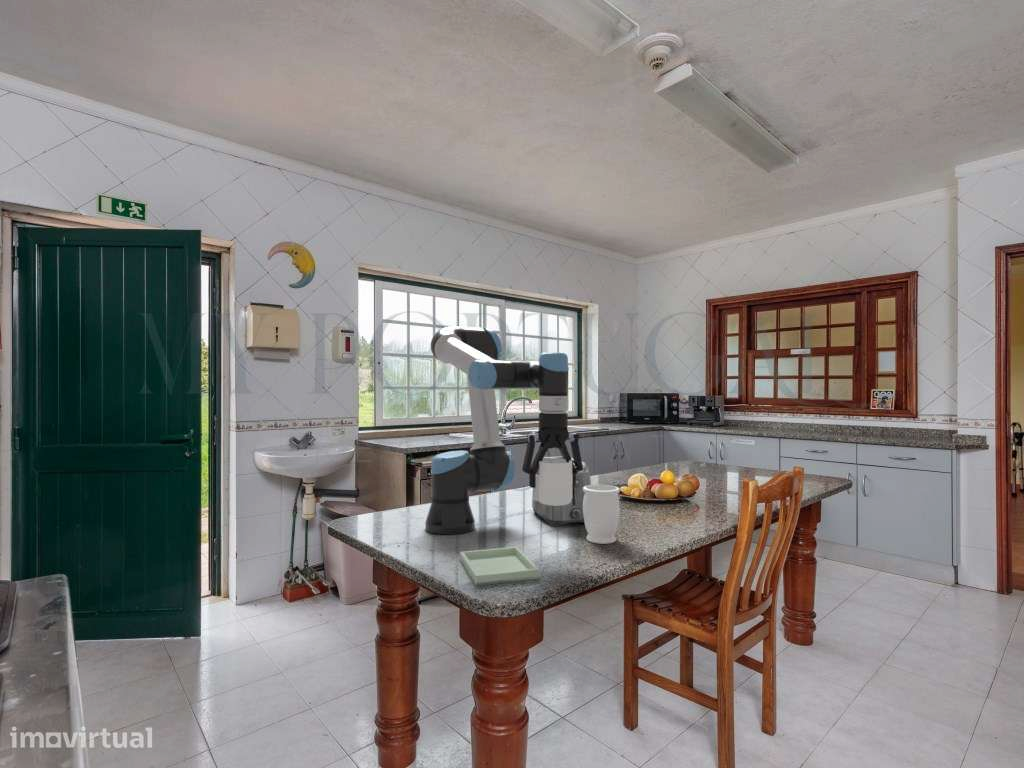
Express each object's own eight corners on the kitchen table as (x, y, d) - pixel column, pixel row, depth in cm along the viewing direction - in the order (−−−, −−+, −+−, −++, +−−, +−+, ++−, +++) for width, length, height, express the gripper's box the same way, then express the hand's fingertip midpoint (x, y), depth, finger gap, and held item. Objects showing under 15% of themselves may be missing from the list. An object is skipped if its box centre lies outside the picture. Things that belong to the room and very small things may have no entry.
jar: (625, 544, 150) (625, 490, 150) (589, 546, 148) (589, 491, 148) (612, 534, 161) (612, 483, 161) (578, 535, 159) (578, 484, 159)
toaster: (549, 529, 166) (549, 467, 166) (524, 508, 194) (524, 455, 194) (600, 526, 170) (600, 465, 170) (569, 505, 198) (568, 453, 198)
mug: (555, 494, 148) (555, 455, 148) (577, 504, 137) (578, 462, 137) (526, 497, 145) (527, 457, 145) (547, 507, 134) (548, 464, 134)
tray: (460, 560, 137) (460, 551, 137) (516, 555, 141) (516, 546, 141) (475, 585, 120) (475, 576, 120) (540, 578, 124) (540, 569, 124)
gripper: (518, 413, 134) (517, 504, 134) (597, 412, 140) (596, 499, 141) (509, 411, 141) (509, 498, 142) (585, 410, 147) (584, 493, 148)
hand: (552, 498), depth 141 cm, fingers closed on mug, 9 cm apart
